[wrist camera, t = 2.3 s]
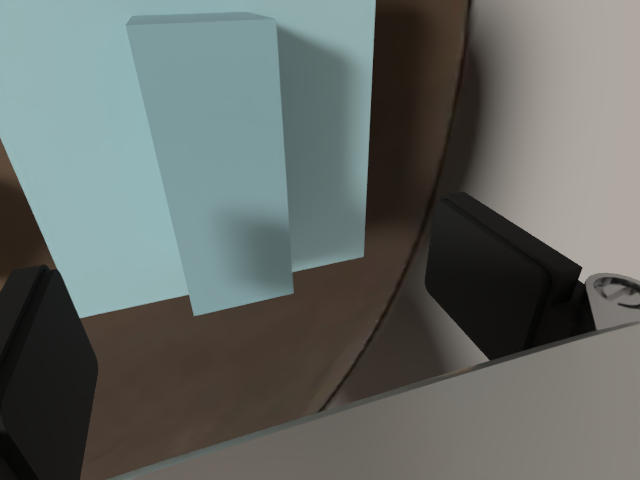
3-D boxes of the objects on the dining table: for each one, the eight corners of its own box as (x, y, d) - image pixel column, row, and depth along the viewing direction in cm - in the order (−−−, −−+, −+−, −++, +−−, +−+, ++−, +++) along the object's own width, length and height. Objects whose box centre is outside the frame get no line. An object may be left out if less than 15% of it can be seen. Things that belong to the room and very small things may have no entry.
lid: (-58, -62, 13) (-200, -96, 8) (355, -58, 17) (447, -79, 12) (84, 290, 21) (61, 394, 16) (348, 237, 25) (402, 305, 20)
